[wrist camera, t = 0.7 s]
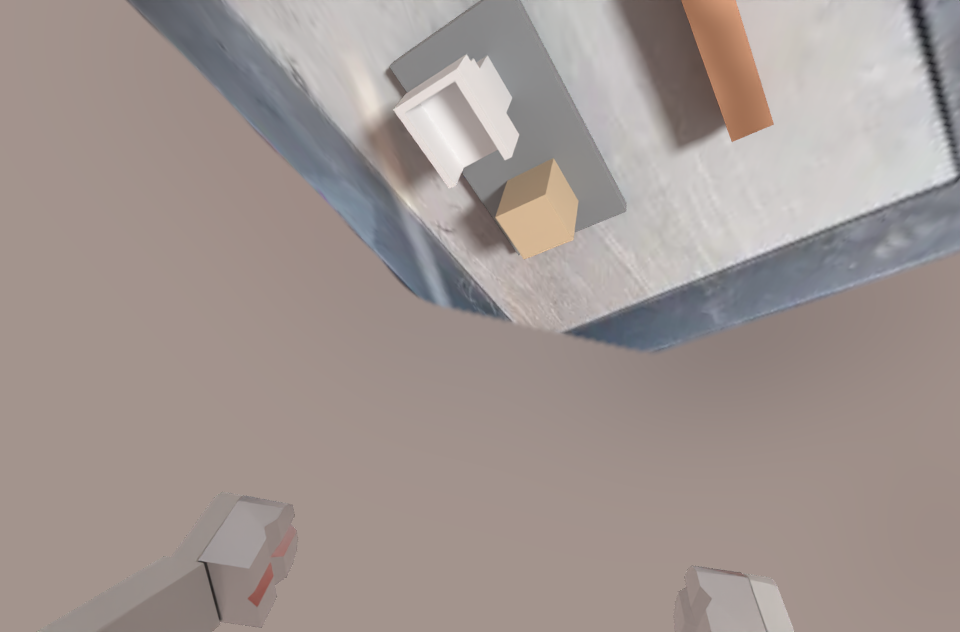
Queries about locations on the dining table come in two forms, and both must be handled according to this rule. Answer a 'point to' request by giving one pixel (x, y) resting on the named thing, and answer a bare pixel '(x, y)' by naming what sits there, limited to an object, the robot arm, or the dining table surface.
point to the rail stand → (506, 126)
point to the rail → (729, 65)
